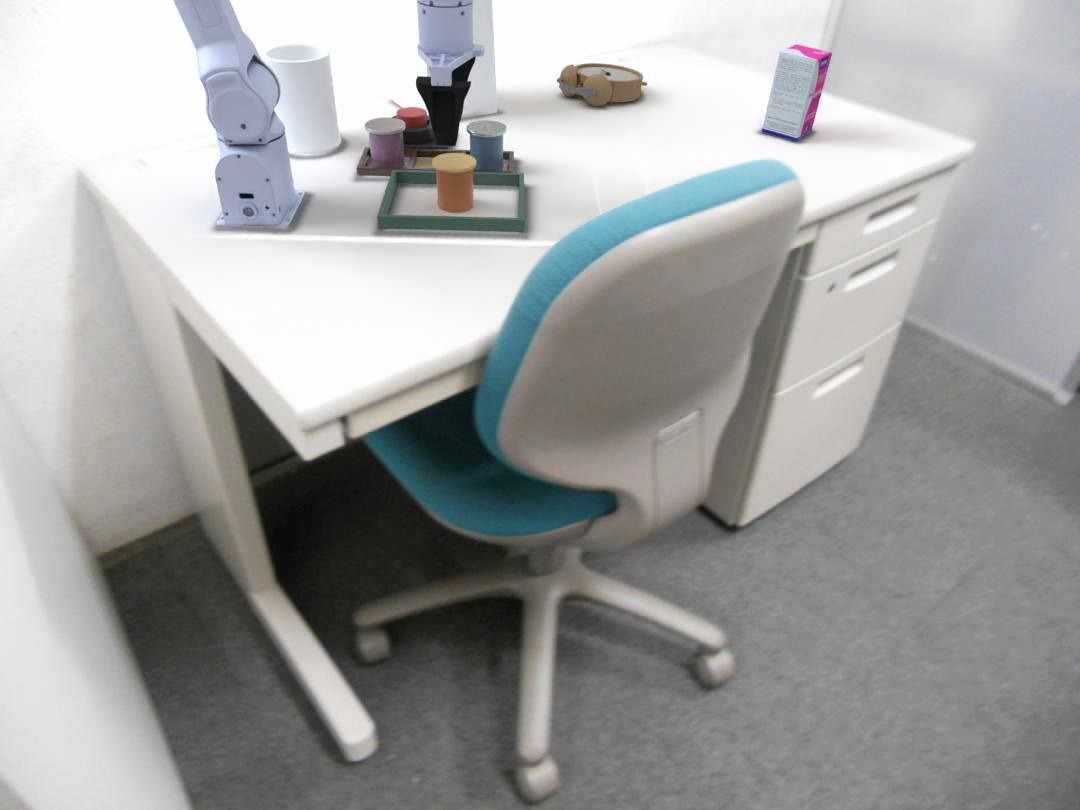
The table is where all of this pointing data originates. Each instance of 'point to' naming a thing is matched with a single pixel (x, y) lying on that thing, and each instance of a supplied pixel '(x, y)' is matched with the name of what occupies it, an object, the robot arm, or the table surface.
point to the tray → (451, 221)
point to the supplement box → (796, 92)
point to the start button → (413, 117)
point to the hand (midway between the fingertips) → (449, 132)
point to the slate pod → (487, 143)
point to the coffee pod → (454, 181)
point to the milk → (412, 65)
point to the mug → (305, 97)
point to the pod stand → (421, 161)
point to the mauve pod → (386, 142)
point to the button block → (420, 137)
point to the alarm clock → (601, 83)
